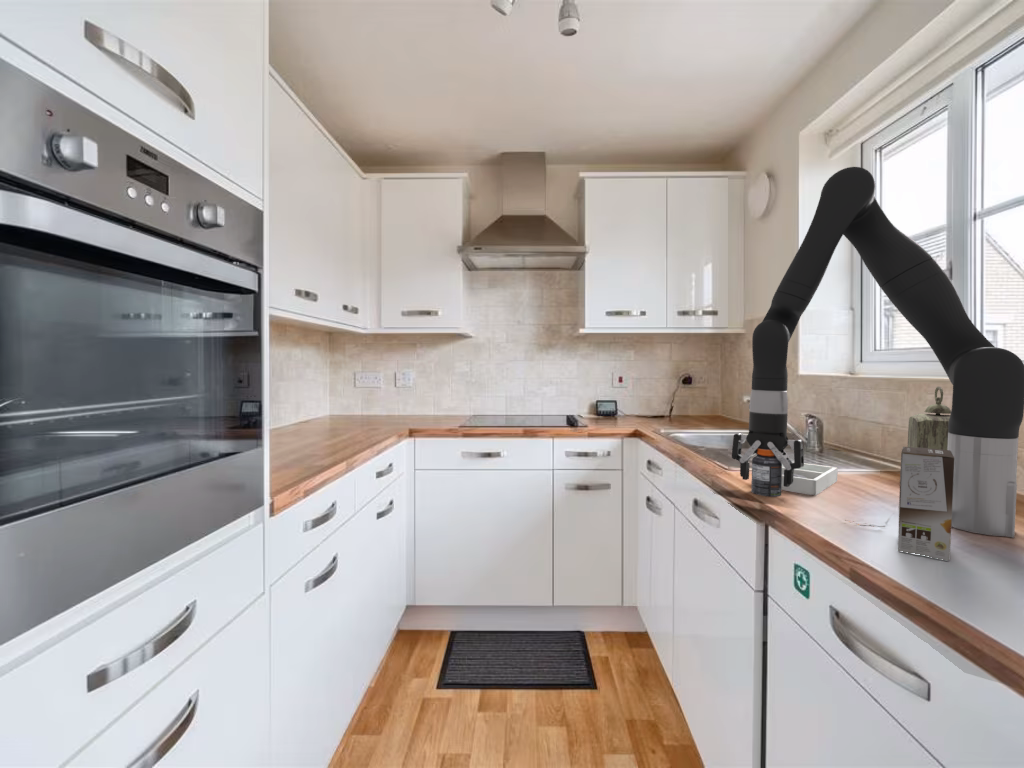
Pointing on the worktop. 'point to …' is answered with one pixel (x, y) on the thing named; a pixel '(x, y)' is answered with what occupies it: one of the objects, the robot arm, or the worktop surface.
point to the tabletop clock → (930, 426)
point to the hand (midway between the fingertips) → (765, 482)
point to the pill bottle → (766, 474)
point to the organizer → (811, 479)
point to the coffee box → (926, 501)
